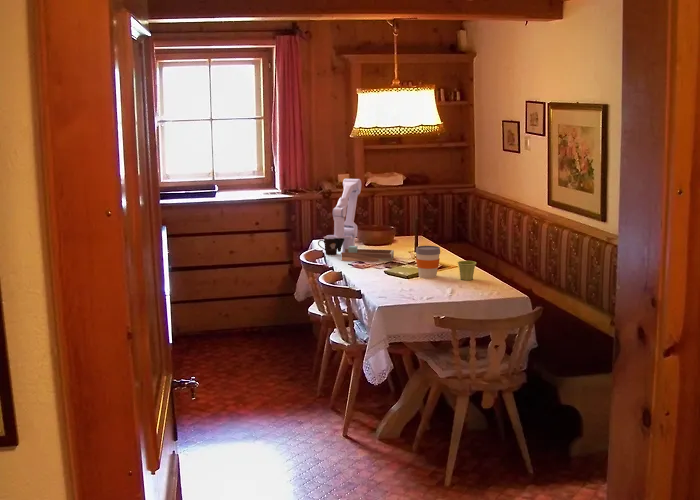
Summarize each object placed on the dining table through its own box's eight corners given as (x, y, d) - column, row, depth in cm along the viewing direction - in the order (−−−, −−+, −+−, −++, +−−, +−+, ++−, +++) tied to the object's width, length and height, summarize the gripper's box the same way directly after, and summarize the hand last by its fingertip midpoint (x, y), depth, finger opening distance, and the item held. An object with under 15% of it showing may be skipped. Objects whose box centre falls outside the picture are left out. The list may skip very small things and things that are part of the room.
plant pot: (477, 281, 427) (478, 264, 426) (459, 281, 426) (459, 264, 425) (473, 277, 436) (474, 260, 435) (455, 277, 436) (455, 260, 434)
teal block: (349, 253, 491) (349, 245, 490) (357, 253, 491) (357, 246, 490) (348, 254, 487) (348, 247, 486) (356, 255, 486) (356, 247, 485)
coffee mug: (339, 252, 504) (339, 236, 503) (337, 255, 496) (337, 238, 494) (319, 252, 506) (319, 235, 504) (317, 255, 497) (317, 238, 495)
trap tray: (345, 256, 494) (345, 248, 493) (393, 257, 489) (393, 250, 488) (341, 260, 481) (341, 252, 480) (391, 261, 477) (391, 254, 476)
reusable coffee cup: (443, 278, 434) (444, 249, 432) (420, 279, 431) (421, 250, 428) (434, 273, 446) (434, 245, 443) (411, 274, 443) (412, 246, 440)
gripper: (325, 228, 485) (325, 252, 487) (350, 229, 482) (350, 253, 485) (327, 227, 491) (327, 250, 494) (352, 227, 489) (352, 250, 492)
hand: (339, 251), depth 490 cm, fingers closed
